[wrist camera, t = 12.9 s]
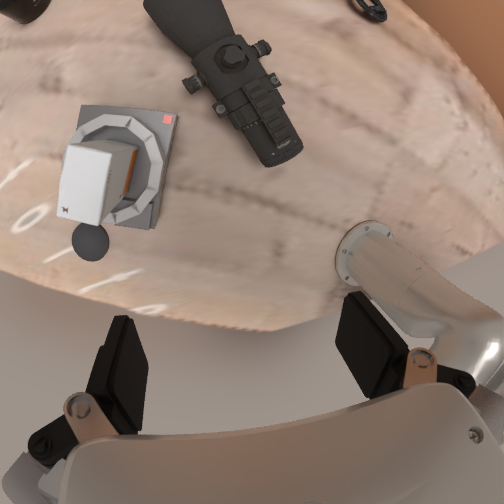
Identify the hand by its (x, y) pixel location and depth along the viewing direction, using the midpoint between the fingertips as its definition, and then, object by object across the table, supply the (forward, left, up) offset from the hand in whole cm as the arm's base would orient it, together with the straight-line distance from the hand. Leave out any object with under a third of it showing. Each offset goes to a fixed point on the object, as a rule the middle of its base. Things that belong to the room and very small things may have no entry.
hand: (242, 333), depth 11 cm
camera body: (+12, -2, -28) cm, 30 cm away
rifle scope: (+2, -16, -28) cm, 32 cm away
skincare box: (+11, -2, -23) cm, 26 cm away
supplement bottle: (+36, -27, -28) cm, 53 cm away
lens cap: (+16, +10, -28) cm, 34 cm away
